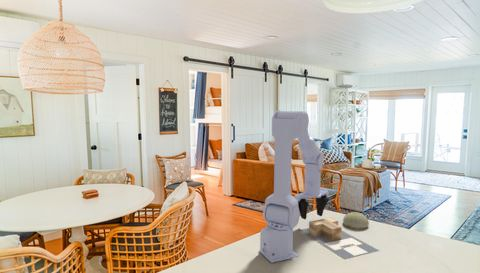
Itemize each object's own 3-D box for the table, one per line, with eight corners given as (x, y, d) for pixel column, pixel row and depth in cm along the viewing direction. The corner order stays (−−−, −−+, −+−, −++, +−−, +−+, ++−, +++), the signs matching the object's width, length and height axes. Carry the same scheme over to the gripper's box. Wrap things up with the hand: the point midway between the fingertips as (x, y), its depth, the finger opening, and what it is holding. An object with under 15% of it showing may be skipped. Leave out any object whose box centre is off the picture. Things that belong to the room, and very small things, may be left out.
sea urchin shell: (337, 221, 113) (345, 203, 117) (343, 231, 118) (350, 214, 121) (361, 228, 107) (368, 209, 110) (367, 239, 111) (373, 220, 115)
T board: (344, 260, 88) (344, 259, 87) (298, 231, 109) (298, 229, 108) (379, 252, 93) (379, 250, 93) (329, 225, 114) (329, 224, 114)
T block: (324, 242, 99) (325, 230, 98) (308, 232, 106) (309, 221, 106) (348, 237, 103) (348, 225, 102) (331, 228, 110) (331, 217, 110)
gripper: (303, 186, 105) (302, 223, 106) (335, 181, 111) (333, 217, 112) (291, 181, 111) (291, 217, 112) (322, 177, 117) (321, 211, 119)
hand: (311, 216), depth 113 cm, fingers open, 7 cm apart
